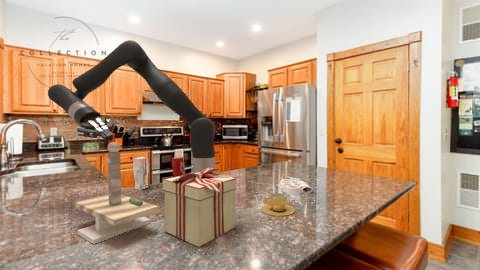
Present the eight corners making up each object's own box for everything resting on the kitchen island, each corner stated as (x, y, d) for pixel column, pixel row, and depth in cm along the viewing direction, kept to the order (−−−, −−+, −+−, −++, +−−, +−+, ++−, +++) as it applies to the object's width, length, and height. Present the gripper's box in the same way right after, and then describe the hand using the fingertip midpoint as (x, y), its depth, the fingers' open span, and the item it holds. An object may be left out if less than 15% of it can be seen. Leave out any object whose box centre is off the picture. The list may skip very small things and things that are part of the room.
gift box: (212, 253, 55) (211, 180, 54) (159, 234, 64) (158, 172, 64) (248, 226, 69) (248, 168, 68) (201, 214, 79) (200, 163, 78)
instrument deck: (75, 206, 70) (73, 141, 70) (115, 196, 80) (114, 139, 79) (115, 226, 56) (112, 145, 56) (158, 211, 66) (156, 142, 65)
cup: (296, 206, 86) (296, 191, 86) (294, 218, 75) (294, 202, 75) (264, 203, 90) (264, 189, 90) (257, 214, 78) (257, 199, 78)
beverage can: (182, 189, 110) (182, 158, 110) (170, 189, 112) (169, 158, 111) (187, 186, 116) (187, 156, 116) (175, 186, 118) (175, 156, 117)
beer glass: (136, 187, 116) (135, 157, 116) (150, 186, 117) (150, 156, 116) (131, 190, 109) (130, 159, 109) (146, 190, 110) (145, 158, 109)
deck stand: (77, 234, 65) (77, 215, 65) (132, 216, 78) (132, 200, 78) (93, 244, 59) (93, 224, 59) (150, 223, 72) (149, 206, 72)
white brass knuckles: (315, 195, 100) (281, 196, 100) (303, 185, 118) (274, 185, 118) (315, 187, 100) (281, 188, 100) (303, 178, 118) (274, 179, 118)
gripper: (61, 112, 78) (87, 137, 71) (101, 101, 88) (128, 122, 81) (67, 130, 83) (91, 155, 76) (104, 118, 92) (130, 139, 85)
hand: (110, 138), depth 78 cm, fingers closed
